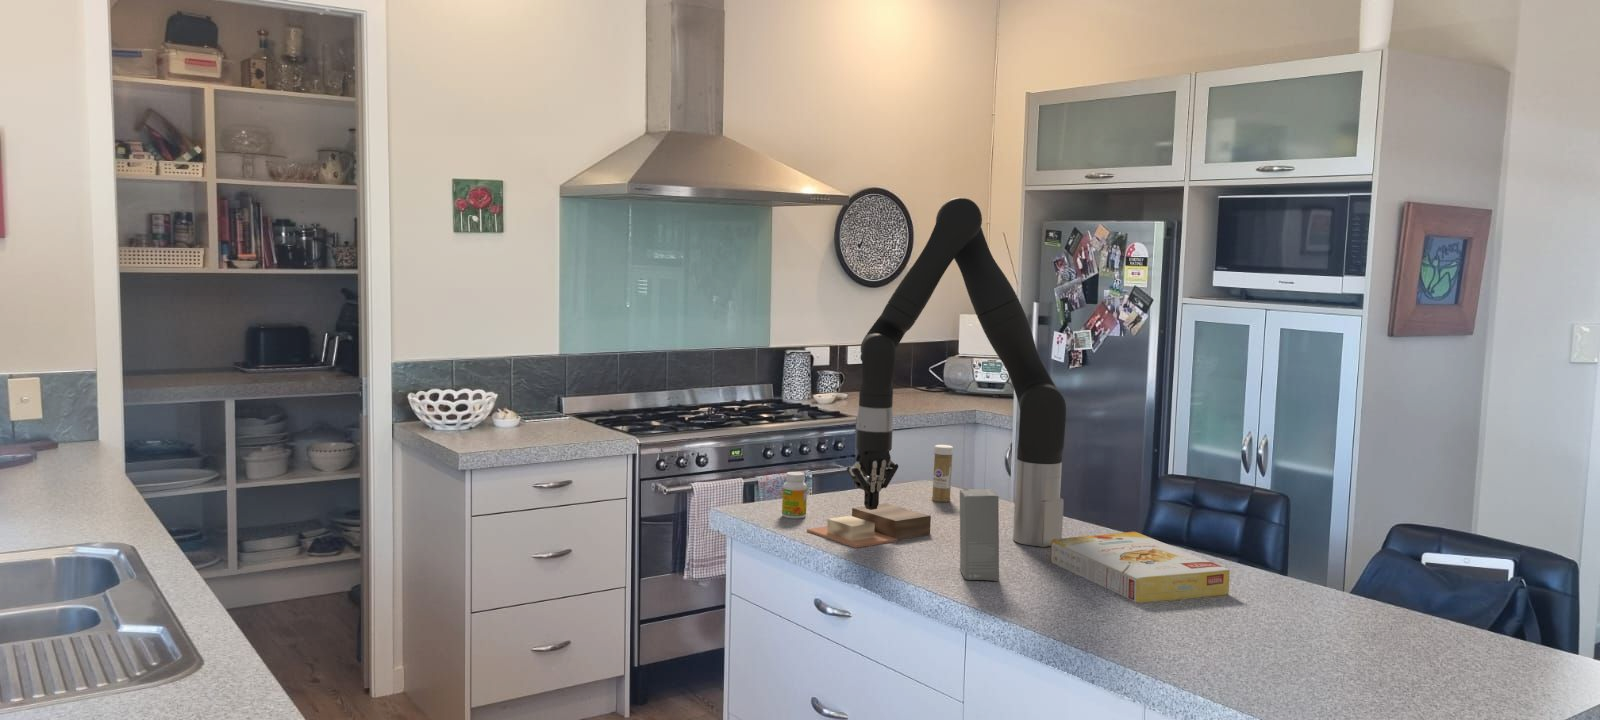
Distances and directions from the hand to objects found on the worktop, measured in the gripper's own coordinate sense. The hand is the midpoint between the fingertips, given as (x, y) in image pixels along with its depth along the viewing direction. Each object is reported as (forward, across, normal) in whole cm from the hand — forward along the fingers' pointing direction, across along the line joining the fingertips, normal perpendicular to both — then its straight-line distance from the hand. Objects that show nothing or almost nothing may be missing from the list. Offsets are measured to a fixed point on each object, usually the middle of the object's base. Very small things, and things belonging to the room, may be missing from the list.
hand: (871, 508), depth 249 cm
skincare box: (+5, -4, -35) cm, 36 cm away
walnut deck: (+5, +6, 0) cm, 8 cm away
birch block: (+3, -6, -1) cm, 7 cm away
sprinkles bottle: (+5, +38, +17) cm, 42 cm away
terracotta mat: (+5, -5, 0) cm, 8 cm away
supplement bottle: (+6, -4, +21) cm, 22 cm away
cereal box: (+6, +21, -52) cm, 56 cm away
